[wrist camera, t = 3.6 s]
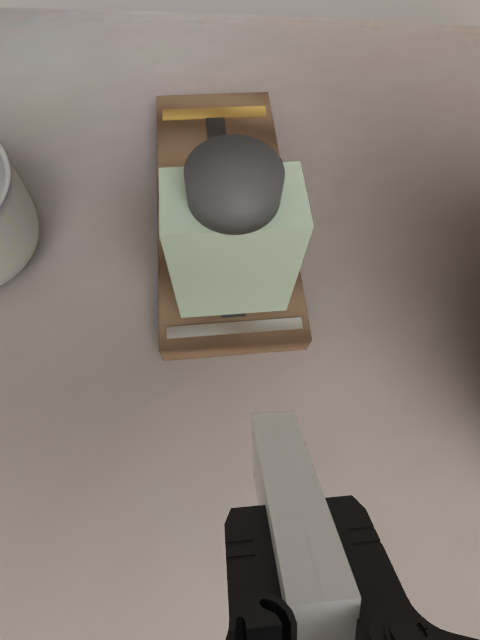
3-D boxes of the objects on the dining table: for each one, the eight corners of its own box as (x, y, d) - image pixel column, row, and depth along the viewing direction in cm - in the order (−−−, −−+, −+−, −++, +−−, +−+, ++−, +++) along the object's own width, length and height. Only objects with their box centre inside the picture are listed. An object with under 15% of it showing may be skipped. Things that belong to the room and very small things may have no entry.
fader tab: (286, 313, 26) (322, 207, 16) (181, 320, 26) (153, 216, 16) (278, 257, 28) (305, 131, 18) (179, 263, 27) (152, 137, 18)
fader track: (306, 349, 28) (312, 338, 26) (163, 360, 27) (159, 350, 25) (266, 111, 37) (268, 91, 35) (160, 115, 37) (156, 94, 35)
